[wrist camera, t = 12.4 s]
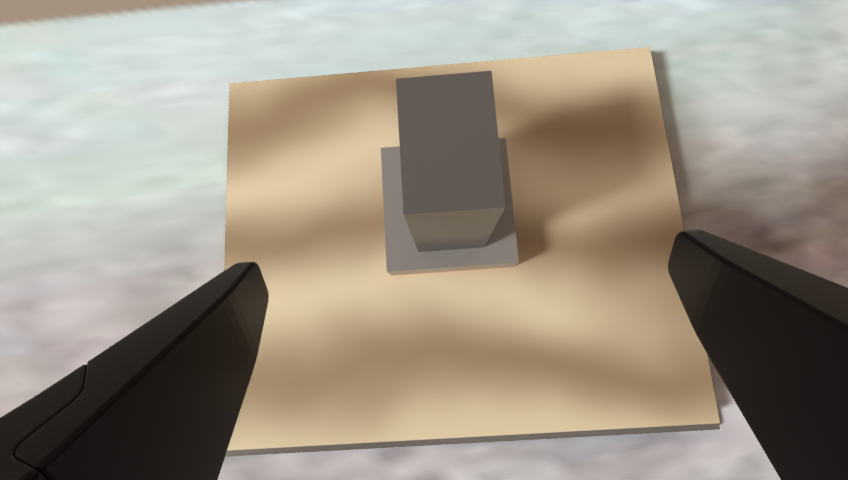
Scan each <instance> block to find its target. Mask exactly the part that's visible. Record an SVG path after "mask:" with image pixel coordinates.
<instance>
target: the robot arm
mask: <svg viewBox="0 0 848 480" xmlns="http://www.w3.org/2000/svg"><path fill="white" fill-rule="evenodd" d="M668 272H669V275H670V277H671V280H672V282H673V284H674V286H675V289H676V291H677V293H678V295H679V298H680V300H681V302H682V305H683V307H684V309H685V311H686V314H687V316H688V318H689V320H690V323H691V325H692V327H693V329H694V331H695V333H696V335H697V337H698V339H699V340H700V342H701V344H702V346H703V347H704V349H705V351H706V353H707V354H708V356H709V358H710V359H711V361H712V363H713V364H714V366H715V368H716V370H717V371H718V373H719V375H720V376H721V378H722V380H723V382H724V383H725V385H726V387H727V388H728V390H729V392H730V393H731V395H732V397H733V399H734V400H735V402H736V404H737V405H738V407H739V409H740V411H741V412H742V414H743V416H744V417H745V419H746V421H747V422H748V424H749V426H750V428H751V429H752V431H753V433H754V434H755V436H756V438H757V440H758V441H759V443H760V445H761V446H762V448H763V450H764V451H765V453H766V455H767V457H768V458H769V460H770V462H771V463H772V465H773V467H774V469H775V470H776V472H777V474H778V475H779V477H780V479H781V480H848V288H847V287H844V286H842V285H839V284H837V283H834V282H832V281H829V280H826V279H824V278H821V277H819V276H816V275H814V274H811V273H809V272H806V271H804V270H801V269H799V268H796V267H794V266H791V265H789V264H786V263H783V262H781V261H778V260H776V259H773V258H771V257H768V256H766V255H763V254H761V253H758V252H756V251H753V250H751V249H748V248H746V247H743V246H740V245H738V244H735V243H733V242H730V241H728V240H725V239H723V238H720V237H718V236H715V235H713V234H710V233H708V232H705V231H702V230H686V231H680V232H679V233H678V234H677V235H676V237H675V240H674V243H673V247H672V250H671V254H670V257H669V261H668ZM268 300H269V294H268V289H267V286H266V284H265V281H264V278H263V275H262V273H261V270H260V267H259V265H258V264H257V263H256V262H238V263H236V264H234V265H232V266H231V267H229V268H228V269H226V270H225V271H223V272H222V273H220V274H219V275H217V276H216V277H214V278H213V279H211V280H210V281H208V282H207V283H205V284H204V285H202V286H201V287H199V288H198V289H196V290H195V291H193V292H192V293H190V294H189V295H187V296H186V297H184V298H183V299H181V300H180V301H178V302H177V303H175V304H174V305H172V306H171V307H169V308H168V309H166V310H165V311H163V312H162V313H160V314H159V315H157V316H156V317H154V318H153V319H151V320H150V321H148V322H147V323H145V324H144V325H142V326H141V327H139V328H138V329H136V330H135V331H133V332H132V333H130V334H129V335H127V336H126V337H124V338H123V339H121V340H120V341H118V342H117V343H115V344H114V345H112V346H111V347H109V348H108V349H106V350H105V351H103V352H102V353H100V354H99V355H97V356H96V357H94V358H93V359H91V360H90V361H88V363H87V365H82V366H81V367H79V368H78V369H76V370H75V371H73V372H72V373H70V374H69V375H67V376H66V377H64V378H63V379H61V380H60V381H58V382H57V383H55V384H53V385H52V386H50V387H49V388H47V389H46V390H44V391H43V392H41V393H40V394H38V395H36V396H35V397H33V398H32V399H30V400H28V401H27V402H25V403H24V404H22V405H20V406H19V407H17V408H15V409H14V410H12V411H10V412H9V413H7V414H6V415H4V416H2V417H1V418H0V480H217V479H218V476H219V473H220V470H221V467H222V464H223V461H224V458H225V455H226V452H227V449H228V446H229V443H230V440H231V437H232V434H233V431H234V428H235V425H236V422H237V419H238V415H239V412H240V409H241V406H242V403H243V400H244V397H245V394H246V391H247V388H248V385H249V382H250V379H251V376H252V373H253V370H254V366H255V363H256V359H257V355H258V351H259V346H260V341H261V336H262V331H263V326H264V321H265V316H266V311H267V306H268Z"/></svg>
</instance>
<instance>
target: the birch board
mask: <svg viewBox="0 0 848 480" xmlns="http://www.w3.org/2000/svg"><path fill="white" fill-rule="evenodd" d="M480 71H492V79H493V89H494V99H495V109H496V118H497V128H498V138H506V145H507V155H508V164H509V174H510V183H511V193H512V202H513V212H514V221H515V231H516V240H517V250H518V259H519V263H518V264H516V265H515V266H514V267H509V268H495V269H480V270H466V271H451V272H437V273H423V274H408V275H394V276H391V275H390V274H389V273H388V272H387V267H386V247H385V226H384V206H383V185H382V165H381V148H385V147H397V146H400V143H399V126H398V108H397V91H396V79H399V78H410V77H422V76H434V75H445V74H457V73H469V72H480ZM680 231H684V227H683V221H682V216H681V211H680V205H679V200H678V194H677V189H676V184H675V178H674V173H673V168H672V162H671V157H670V152H669V146H668V141H667V136H666V130H665V125H664V119H663V114H662V109H661V103H660V98H659V93H658V87H657V82H656V77H655V71H654V66H653V60H652V55H651V50H650V47H646V48H635V49H623V50H612V51H600V52H588V53H577V54H565V55H554V56H542V57H531V58H519V59H508V60H496V61H484V62H473V63H461V64H450V65H438V66H427V67H415V68H404V69H392V70H380V71H369V72H357V73H346V74H334V75H323V76H311V77H300V78H288V79H277V80H265V81H253V82H242V83H230V85H229V122H228V158H227V195H226V231H225V268H224V271H225V270H226V269H228V268H229V267H231V266H232V265H234V264H236V263H238V262H256V263H257V264H258V265H259V267H260V270H261V273H262V275H263V278H264V281H265V284H266V286H267V289H268V294H269V300H268V306H267V311H266V316H265V321H264V326H263V331H262V336H261V341H260V346H259V351H258V355H257V359H256V363H255V366H254V370H253V373H252V376H251V379H250V382H249V385H248V388H247V391H246V394H245V397H244V400H243V403H242V406H241V409H240V412H239V415H238V419H237V422H236V425H235V428H234V431H233V434H232V437H231V440H230V443H229V446H228V449H227V452H226V455H225V456H242V455H260V454H278V453H297V452H315V451H333V450H351V449H369V448H387V447H406V446H424V445H442V444H460V443H478V442H497V441H515V440H533V439H551V438H569V437H587V436H606V435H624V434H642V433H660V432H678V431H697V430H715V429H720V427H719V423H720V420H719V414H718V409H717V404H716V398H715V393H714V388H713V382H712V377H711V371H710V366H709V361H708V355H707V353H706V351H705V349H704V347H703V346H702V344H701V342H700V340H699V339H698V337H697V335H696V333H695V331H694V329H693V327H692V325H691V323H690V320H689V318H688V316H687V314H686V311H685V309H684V307H683V305H682V302H681V300H680V298H679V295H678V293H677V291H676V289H675V286H674V284H673V282H672V280H671V277H670V275H669V272H668V261H669V257H670V254H671V250H672V247H673V243H674V240H675V237H676V235H677V234H678V233H679V232H680Z"/></svg>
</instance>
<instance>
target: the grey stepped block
mask: <svg viewBox="0 0 848 480" xmlns="http://www.w3.org/2000/svg"><path fill="white" fill-rule="evenodd" d="M396 91H397V108H398V126H399V143H400V146H397V147H385V148H381V165H382V185H383V206H384V226H385V247H386V267H387V272H388V273H389V274H390V275H391V276H394V275H408V274H423V273H437V272H451V271H466V270H480V269H495V268H509V267H514V266H515V265H516V264H518V263H519V259H518V250H517V240H516V231H515V221H514V212H513V202H512V193H511V183H510V174H509V164H508V155H507V145H506V138H498V128H497V118H496V109H495V99H494V89H493V79H492V71H480V72H469V73H457V74H445V75H434V76H422V77H410V78H399V79H396Z"/></svg>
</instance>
